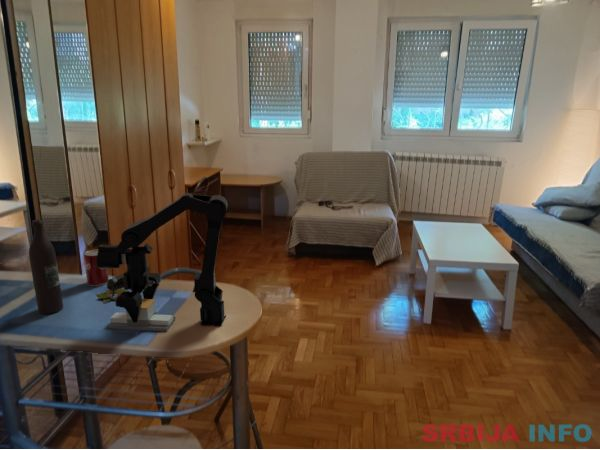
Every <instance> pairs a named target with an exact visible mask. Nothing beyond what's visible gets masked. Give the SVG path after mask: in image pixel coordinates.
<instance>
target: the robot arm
mask: <svg viewBox="0 0 600 450" xmlns="http://www.w3.org/2000/svg"><path fill="white" fill-rule="evenodd" d="M228 207H229V204H228V200H227V199H226V197H224V196H222V195H220V194H214V195H207V194H195V193H191V192H184V193H183V194H182V195H181V196H180V197H178V198H177V199H176V200H174V201H173V202H171V203H169V204H168V205H167V206H165V207H163V208H161V210H159V211H157V212H155V213H154V214H153V215H150V216H149V217H147V218H143V219H141V220H138V221H136V222H133V223H131V224H129V225H128V226H127V227H126V228H125V229H124V231H123V232H122V233H121V237H120V239H121V240H120V242H119V243H118V244H116V245H115V244H114V245H113V244H111V245H110V244H109V245H108V244H100V245H99V246H98V247H97V249H98V254H97V260H96V262H97V266H98V268H100V269H101V268H107V269H120V268H122V265H125V264H126V265H125V267H126V271H125V272H124V273H122V274H118V275H115V276H113V277H112V278H109V280H108V281H107V283H106V289H107V290H108V289H109V290H112V291H116V290H117V289H121V288H122V289H124V290H128V291H127V292H122V293H121V294H120V295H119V296H118V297H117V298H116V299H114V304H115V307H118V308H122V309H125V311H126V310H127V312H128V314H129V315H130V317H131V319H132V321H133V322H135V323H136V322H137V321H138V317H139V313H140V309H141V306H142V302H141V300H142V299H154V297H155V295H156V292H157V289H158V288H159V286H160V283H161V281H162V278H161V275H160V274H159V273H158V272H157V273H156V272H151V267H149V266H148V259H147V254H148V255H149V254H151V253H152V252H153V250H154V248H153V247H152V246H151V245H149V244H148V243H145V244H144V245H142V244H143V243H144V242H145V241H146V240H147V238H149V237H150V236H151V235H152V234H153V233H154V232H155V231H156V230H157V229H159V228H161V227H162V226H164V225H166V224H167V223H169V222H170V221H171V220H173V219H174V218H176V217H178V216H180V215H181V214H182V213H184V212H185V211H187V210H189V211H192V212H196V213H199V214H202V215H205V216H206V217H205V218H206V225H207V227H206V228H207V230H206V231H207V232H206V237H205V247H204V251H203V253H204V254H203V259H202V268H201V272H198V271H196V273H195V276H194V281H193V282H194V286H193V289H192V293H194V298H195V299H196V300H197V301H198V302H200V305H201V306H200V308H199V314H200V315H199V316H200V319H199V320H200V325H201V326H210V325H214V326H215V327H222V325H223V324H222V323H224V321H225V319H226V317H227V315H226V314H225V300H223V292H224V291H223V290H222V288H220V287H219V286H218V285H217V283H216V274H215V273H216V271H215V267H216V261H217V253H218V246H219V239H220V235H221V234H220V232H221V228H222V226H223V224H224V220H225V217H226V214H227V211H228V210H227V209H228ZM141 294H142V295H141ZM142 296H143V298H142ZM224 315H225V316H224Z"/></svg>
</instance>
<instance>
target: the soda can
mask: <svg viewBox="0 0 600 450" xmlns="http://www.w3.org/2000/svg"><path fill="white" fill-rule="evenodd" d="M97 254H98V248H97V249H90V250H88V251H85V252H84V253H83V260H84V268H85V275H86V278H85V279H86V284H87V285H88V286H90V287H101V286H104V285H107V281H108V280H109V279H110V278H109V272H108V270H109V269H108V268H101V269H100V268H98V266H97V262H96V260H97Z"/></svg>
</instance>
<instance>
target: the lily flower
mask: <svg viewBox="0 0 600 450" xmlns="http://www.w3.org/2000/svg"><path fill="white" fill-rule="evenodd" d="M122 292H129V289H128V290H124V288H121V289H117V290H116V291H112V290H109V289H108V288H107V289H105V291H104V292H100V293H96V294H95V295H96V296H98V297H97V299H95V301H97V300H101V299H102V300H103V301H102V302H103V304H105V303H108V302H110V301H113V300H115V299H116V298H117V297H118V296H119V295H120V294H121V293H122ZM115 295H116V296H115ZM109 298H110V299H109Z"/></svg>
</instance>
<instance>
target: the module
mask: <svg viewBox="0 0 600 450" xmlns="http://www.w3.org/2000/svg"><path fill="white" fill-rule="evenodd" d="M141 302H142V306H141V309H140V313H139V317H138V321H137V322H136V323H135V322H133V321H132V319H131V317H130V315H129V314H128V312H127V310H126V309H125V313H126V316H127V325H131V326H149V325H150V322H149V319H150V317H151V316H152V315H153V314H157V311H156V309H157V307H156V299H154V298H153V299H144V298H142V300H141Z"/></svg>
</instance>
